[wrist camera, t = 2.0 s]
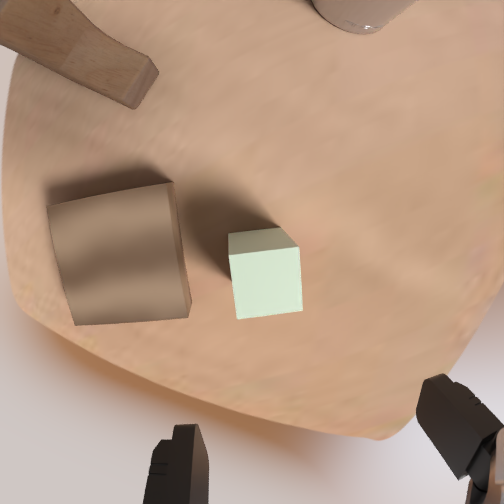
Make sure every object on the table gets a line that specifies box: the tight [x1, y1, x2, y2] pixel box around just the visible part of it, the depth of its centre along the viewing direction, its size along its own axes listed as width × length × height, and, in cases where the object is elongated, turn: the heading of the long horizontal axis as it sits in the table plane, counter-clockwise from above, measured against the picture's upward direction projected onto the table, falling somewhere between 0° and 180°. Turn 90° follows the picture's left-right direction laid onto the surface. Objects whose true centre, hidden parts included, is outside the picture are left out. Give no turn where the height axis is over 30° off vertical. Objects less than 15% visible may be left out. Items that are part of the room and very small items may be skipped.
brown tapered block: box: [47, 182, 192, 326], centre depth 28 cm, size 12×12×4 cm
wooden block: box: [0, 0, 159, 109], centre depth 16 cm, size 9×4×18 cm, turn 59°
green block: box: [228, 227, 303, 319], centre depth 27 cm, size 5×5×8 cm
